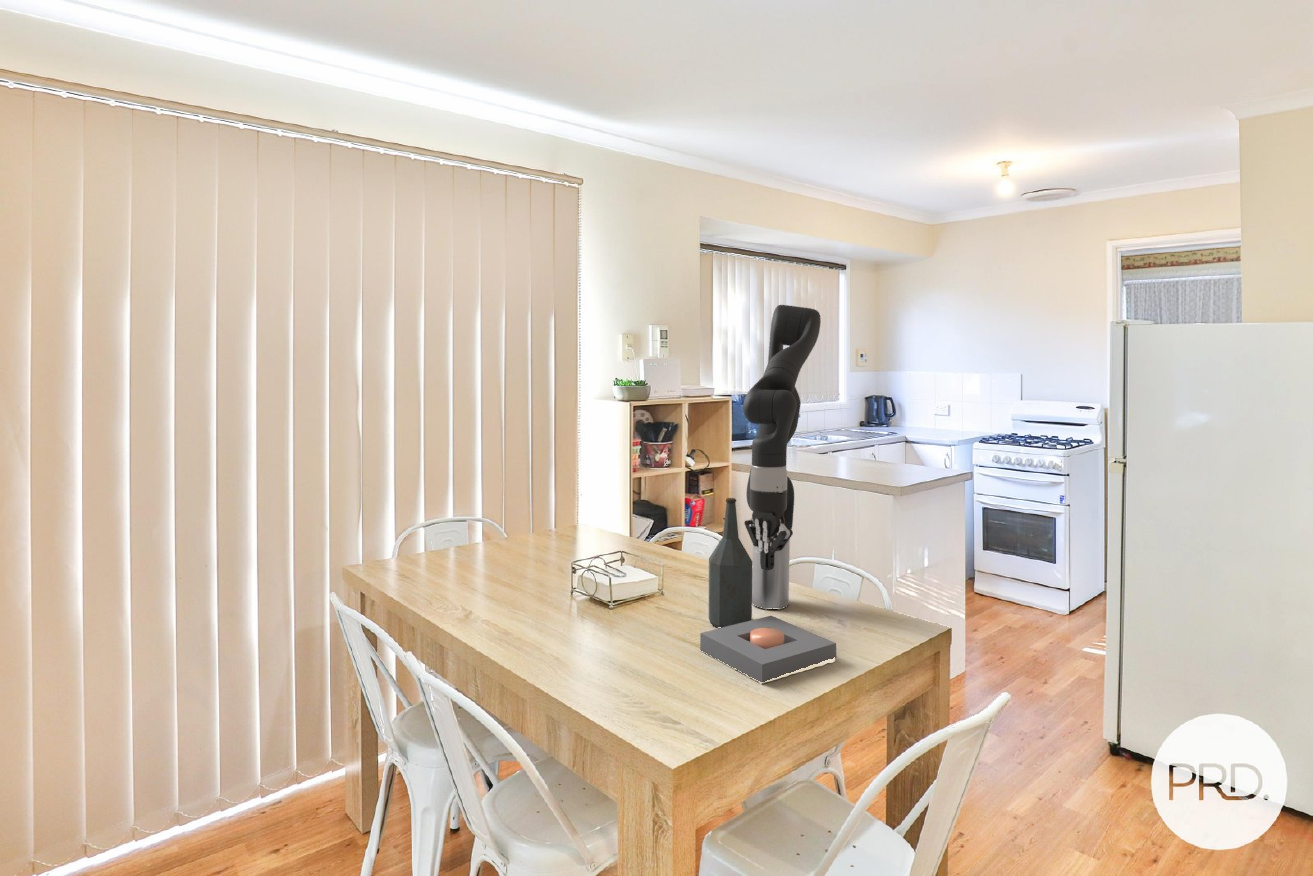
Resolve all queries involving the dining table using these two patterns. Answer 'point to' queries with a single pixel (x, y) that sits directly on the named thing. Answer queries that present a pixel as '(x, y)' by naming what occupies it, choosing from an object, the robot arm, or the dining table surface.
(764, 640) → the button cap
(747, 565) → the bottle
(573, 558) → the dining table surface
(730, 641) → the button box
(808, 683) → the dining table surface
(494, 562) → the dining table surface
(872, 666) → the dining table surface
